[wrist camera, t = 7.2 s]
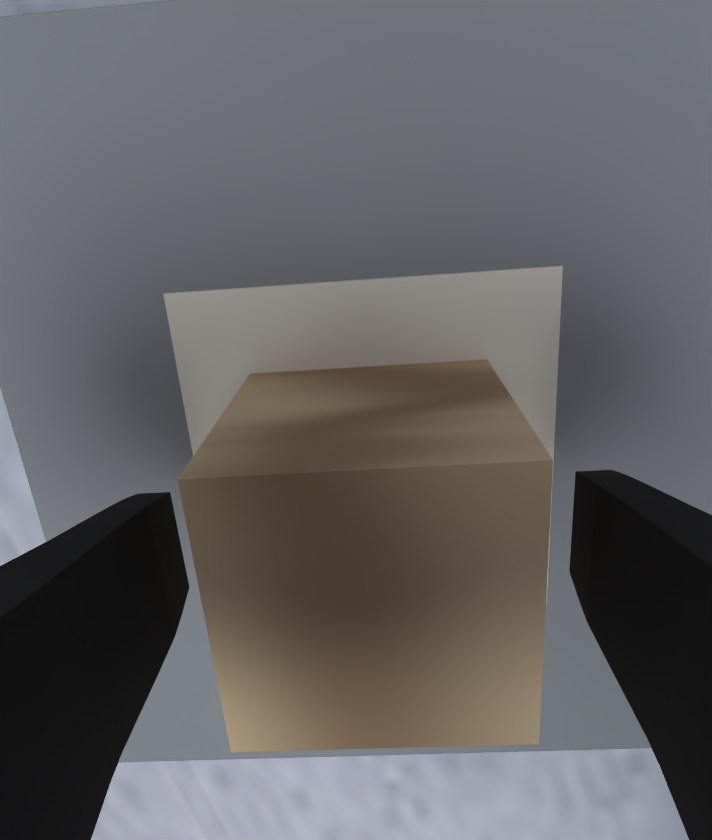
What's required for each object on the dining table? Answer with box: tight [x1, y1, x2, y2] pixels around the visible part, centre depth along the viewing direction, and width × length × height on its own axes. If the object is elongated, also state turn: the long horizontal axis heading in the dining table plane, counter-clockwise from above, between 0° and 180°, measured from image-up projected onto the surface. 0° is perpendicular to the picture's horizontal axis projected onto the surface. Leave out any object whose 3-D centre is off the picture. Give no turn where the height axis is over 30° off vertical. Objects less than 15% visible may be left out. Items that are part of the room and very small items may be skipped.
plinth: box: [0, 0, 712, 762], centre depth 15 cm, size 16×18×3 cm
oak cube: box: [177, 359, 553, 752], centre depth 11 cm, size 5×5×5 cm
